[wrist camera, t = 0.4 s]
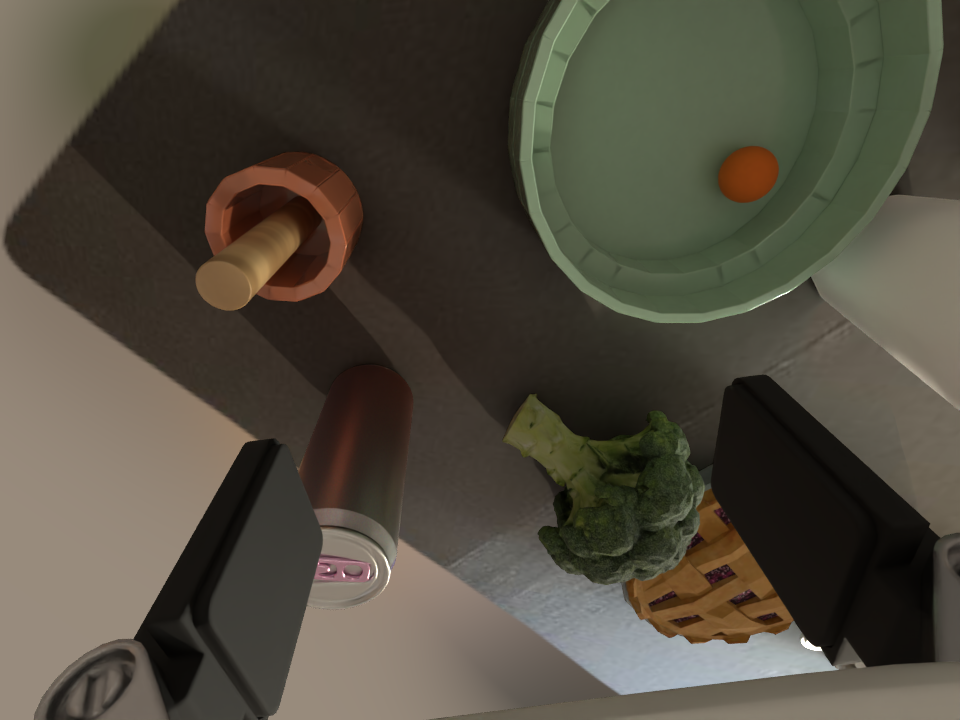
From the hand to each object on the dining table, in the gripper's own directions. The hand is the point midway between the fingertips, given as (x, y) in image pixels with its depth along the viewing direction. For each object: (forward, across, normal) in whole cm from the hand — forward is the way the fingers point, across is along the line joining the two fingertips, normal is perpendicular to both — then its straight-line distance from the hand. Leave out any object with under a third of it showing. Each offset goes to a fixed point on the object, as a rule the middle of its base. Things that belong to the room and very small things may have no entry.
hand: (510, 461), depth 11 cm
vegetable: (+22, -6, +18) cm, 30 cm away
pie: (+22, -20, +32) cm, 44 cm away
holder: (+22, +10, -2) cm, 24 cm away
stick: (+22, +10, -2) cm, 24 cm away
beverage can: (+22, +9, +12) cm, 27 cm away
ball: (+20, -16, -1) cm, 26 cm away
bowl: (+22, -12, -4) cm, 26 cm away
